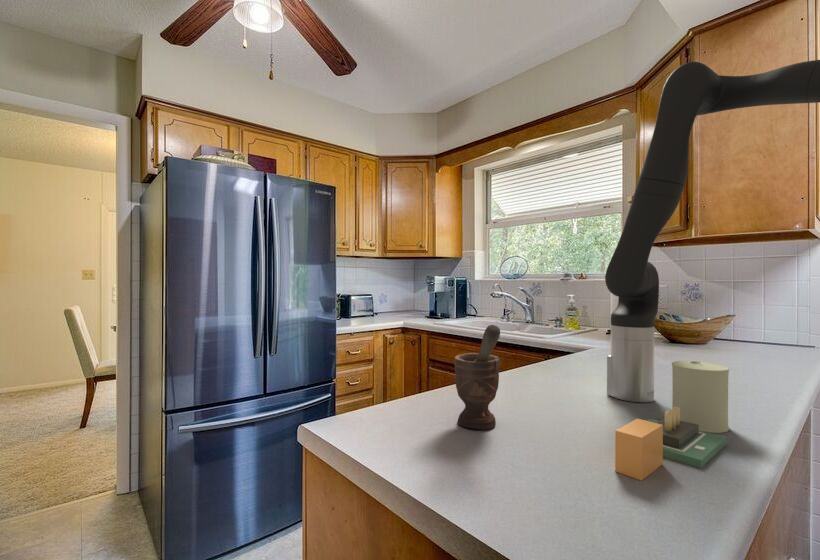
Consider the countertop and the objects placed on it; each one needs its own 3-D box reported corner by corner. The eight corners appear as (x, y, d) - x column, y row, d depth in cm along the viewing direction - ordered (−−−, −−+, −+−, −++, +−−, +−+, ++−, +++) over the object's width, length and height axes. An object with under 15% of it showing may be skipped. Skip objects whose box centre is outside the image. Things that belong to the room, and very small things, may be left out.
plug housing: (615, 471, 60) (615, 430, 60) (637, 456, 65) (637, 418, 65) (641, 480, 57) (641, 437, 57) (662, 464, 62) (662, 424, 62)
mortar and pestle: (521, 431, 75) (522, 323, 75) (489, 441, 70) (490, 326, 70) (476, 414, 85) (476, 318, 85) (445, 422, 80) (445, 320, 80)
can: (718, 419, 82) (718, 360, 82) (738, 435, 74) (738, 369, 74) (665, 414, 85) (666, 357, 85) (678, 429, 77) (679, 365, 77)
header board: (618, 443, 70) (618, 409, 70) (649, 424, 79) (650, 395, 79) (701, 468, 61) (701, 429, 61) (726, 444, 70) (726, 410, 70)
